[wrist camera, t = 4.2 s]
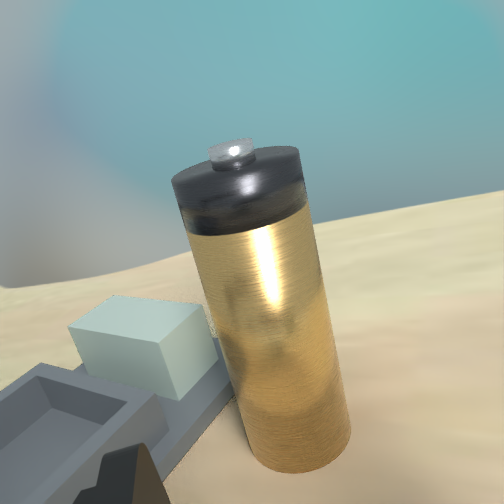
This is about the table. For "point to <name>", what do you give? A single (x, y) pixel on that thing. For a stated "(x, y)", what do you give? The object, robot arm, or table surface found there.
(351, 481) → the table surface
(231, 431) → the table surface
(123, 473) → the robot arm
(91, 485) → the tester dock
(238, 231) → the battery cell
